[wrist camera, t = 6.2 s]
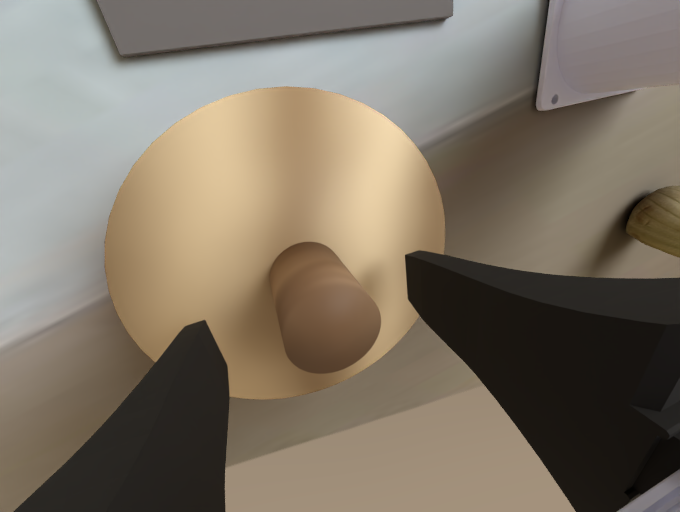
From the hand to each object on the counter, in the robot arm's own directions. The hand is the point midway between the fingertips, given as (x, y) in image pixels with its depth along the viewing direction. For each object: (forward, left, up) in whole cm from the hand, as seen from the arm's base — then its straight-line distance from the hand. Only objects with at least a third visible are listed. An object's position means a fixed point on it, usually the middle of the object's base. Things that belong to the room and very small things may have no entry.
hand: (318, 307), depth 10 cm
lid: (0, -1, -2) cm, 2 cm away
